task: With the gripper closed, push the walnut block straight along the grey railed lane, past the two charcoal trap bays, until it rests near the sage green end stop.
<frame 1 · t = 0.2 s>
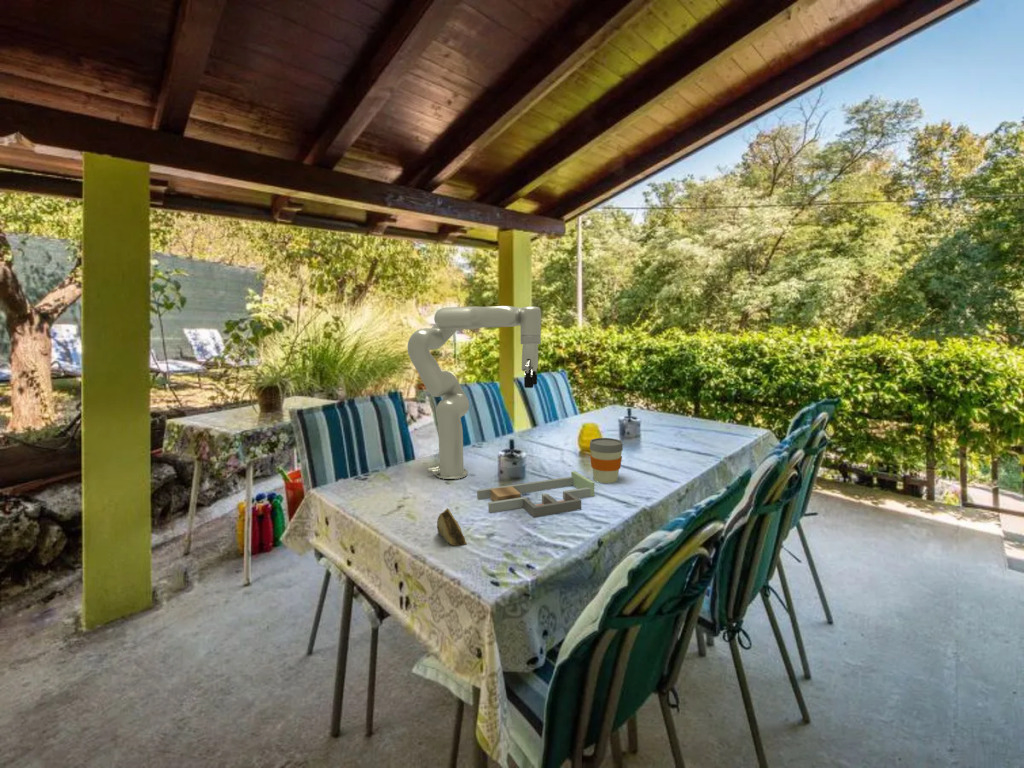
hand: (530, 385, 178), 37 cm above the table, tool pointing down, fingers open, 9 cm apart
walnut block: (505, 502, 161), on the table
reusable coffee cup: (605, 479, 184), on the table
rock: (451, 539, 134), on the table
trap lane: (533, 497, 165), on the table
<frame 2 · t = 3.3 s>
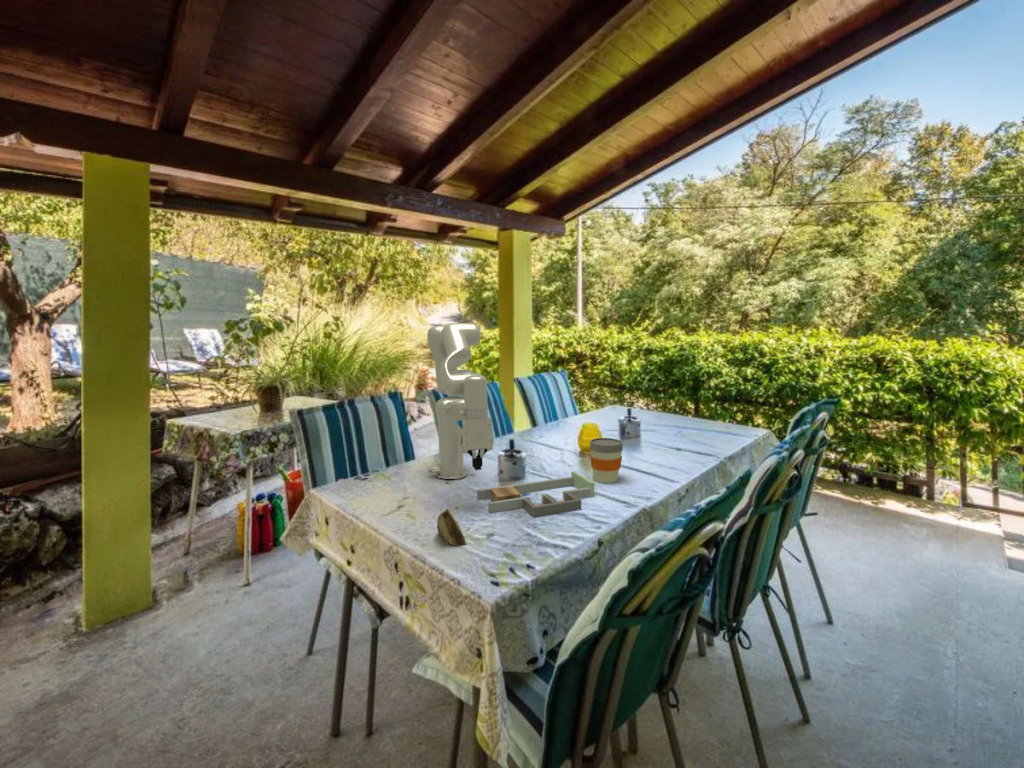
hand: (477, 468, 155), 13 cm above the table, tool pointing down, fingers closed
nothing on the table moved.
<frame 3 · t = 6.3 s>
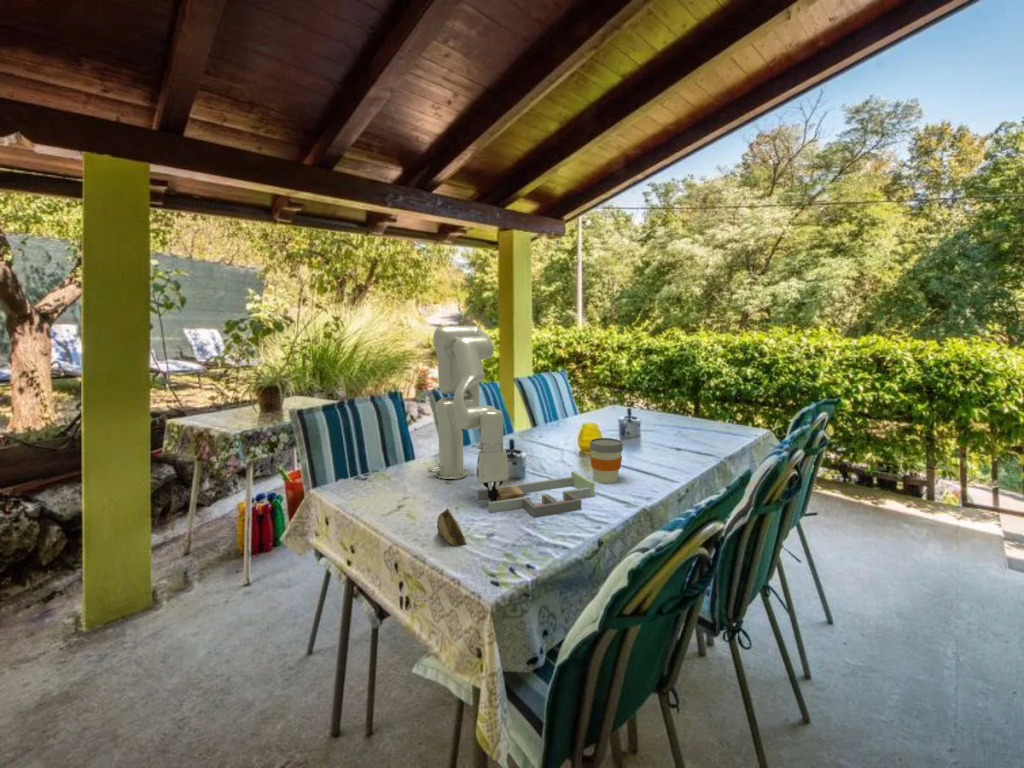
hand: (492, 499, 159), 1 cm above the table, tool pointing down, fingers closed
walnut block: (509, 502, 162), on the table, touching gripper
everything else where it was.
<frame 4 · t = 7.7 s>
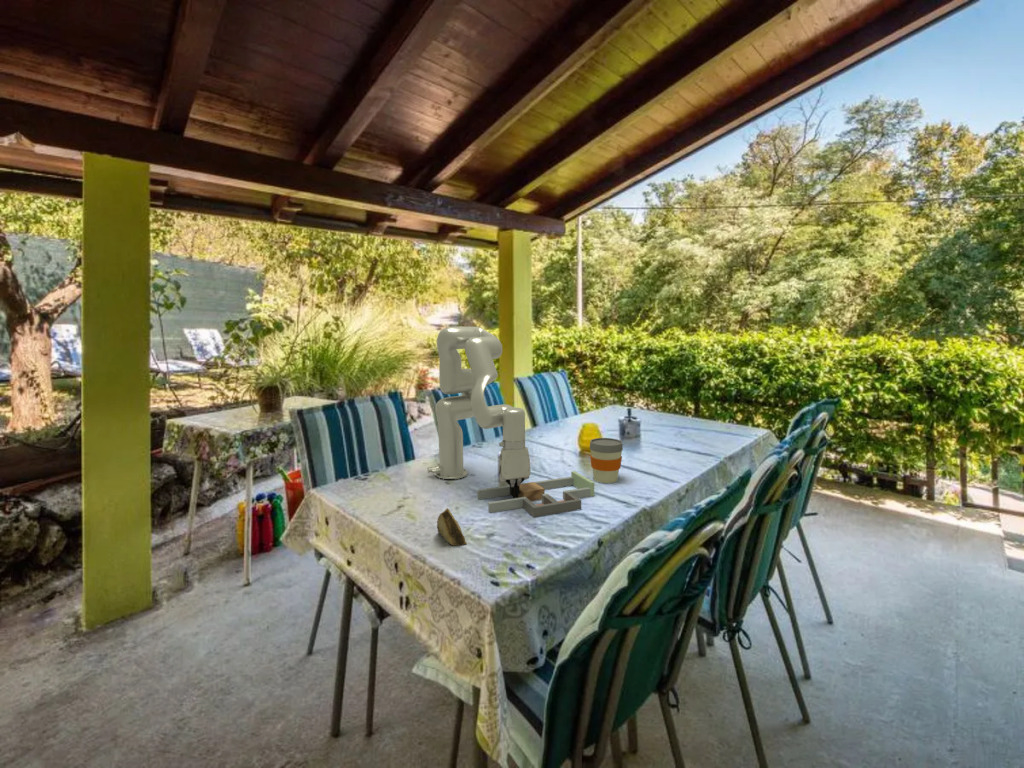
hand: (514, 496, 162), 1 cm above the table, tool pointing down, fingers closed
walnut block: (528, 497, 166), on the table, touching gripper
everything else where it was.
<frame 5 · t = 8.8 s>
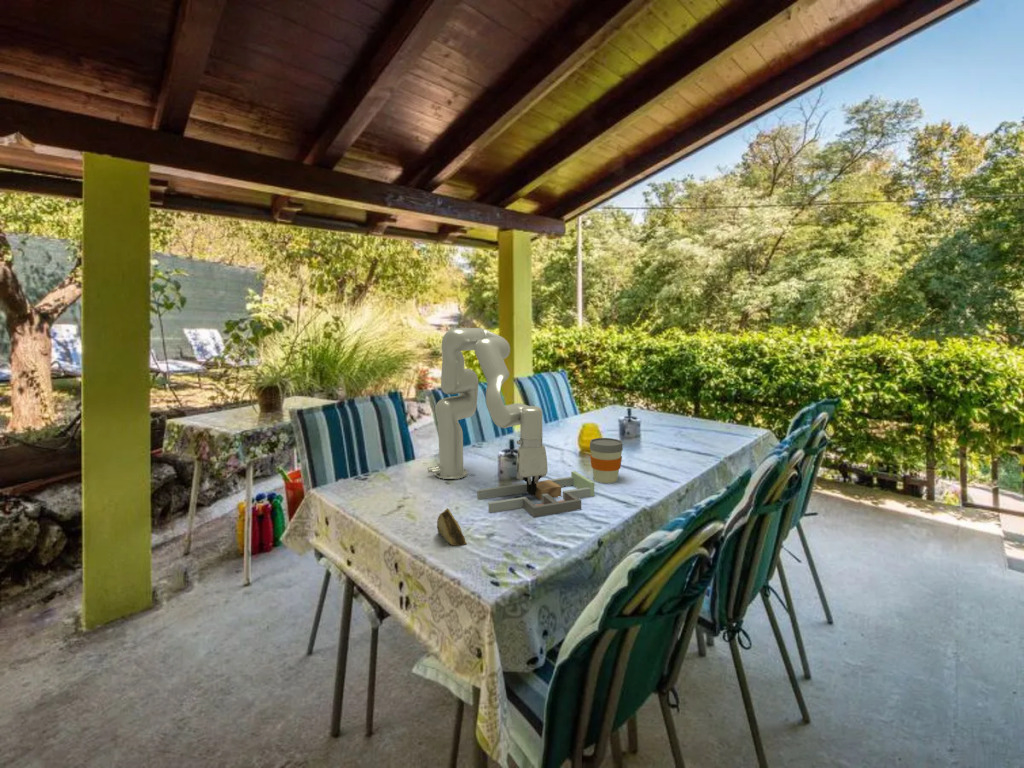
hand: (531, 494, 164), 1 cm above the table, tool pointing down, fingers closed
walnut block: (545, 495, 168), on the table, touching gripper
everything else where it was.
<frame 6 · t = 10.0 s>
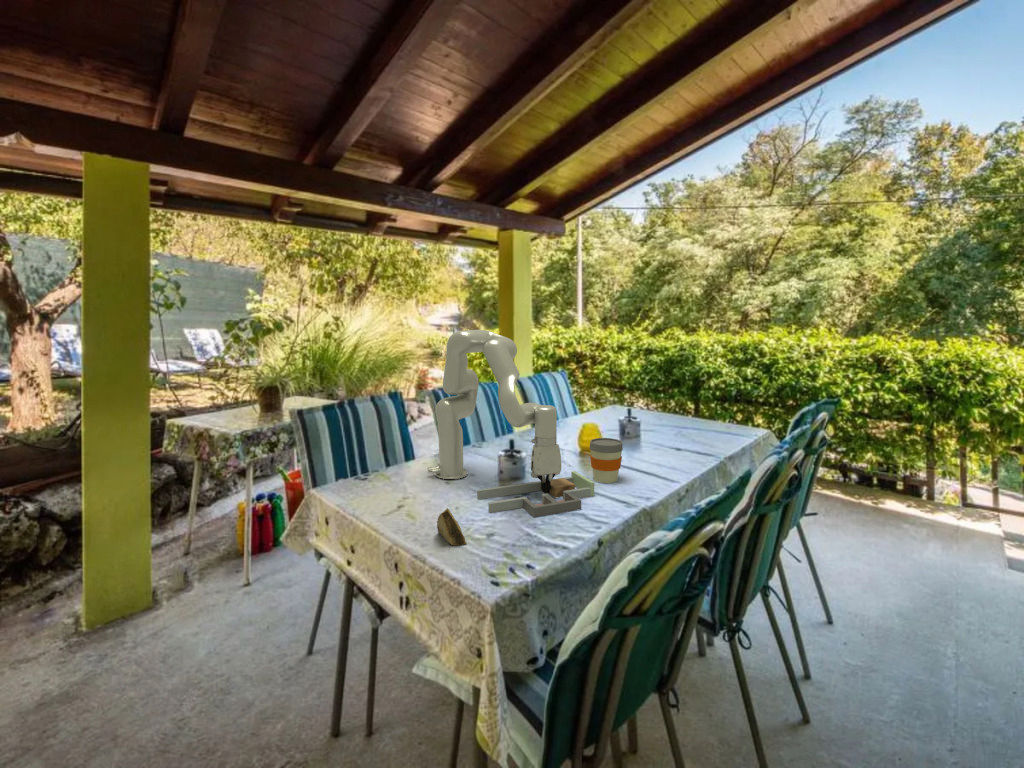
hand: (545, 491, 166), 1 cm above the table, tool pointing down, fingers closed
walnut block: (559, 493, 170), on the table, touching gripper
everything else where it was.
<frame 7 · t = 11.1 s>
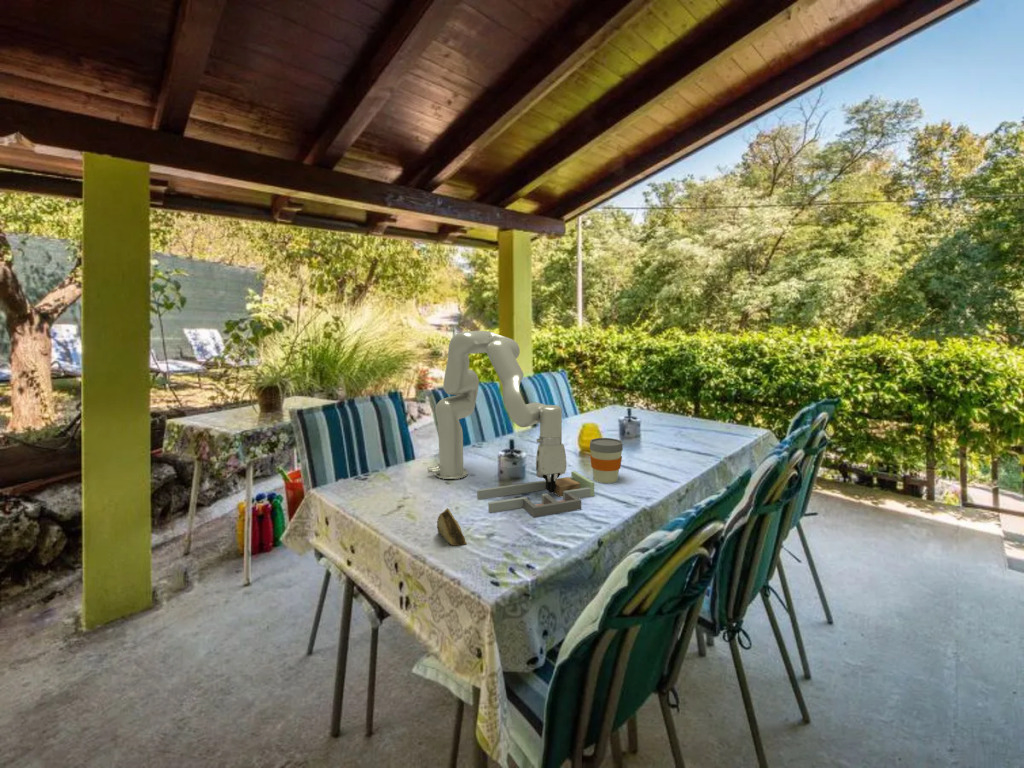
hand: (550, 491, 167), 1 cm above the table, tool pointing down, fingers closed
walnut block: (564, 492, 171), on the table
everything else where it was.
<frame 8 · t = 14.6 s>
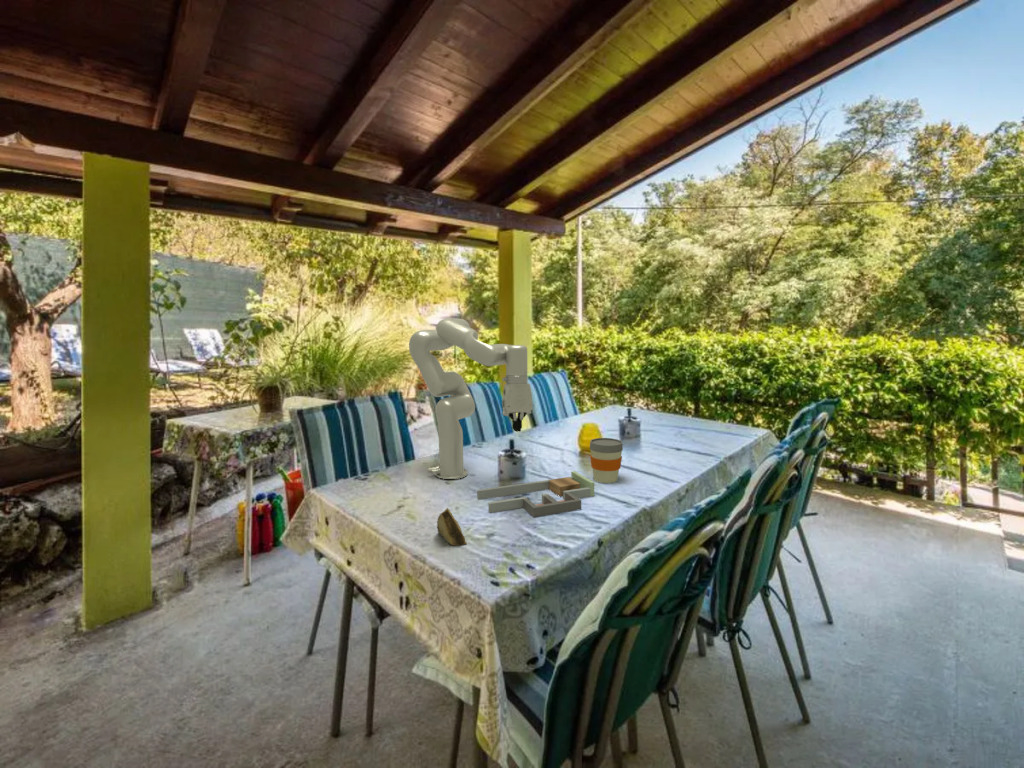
hand: (517, 430, 170), 22 cm above the table, tool pointing down, fingers closed
nothing on the table moved.
at the end: walnut block inside the target area (1.5 cm from its centre), on the table; walnut block tilted 0°; walnut block moved 23.0 cm from its start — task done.
